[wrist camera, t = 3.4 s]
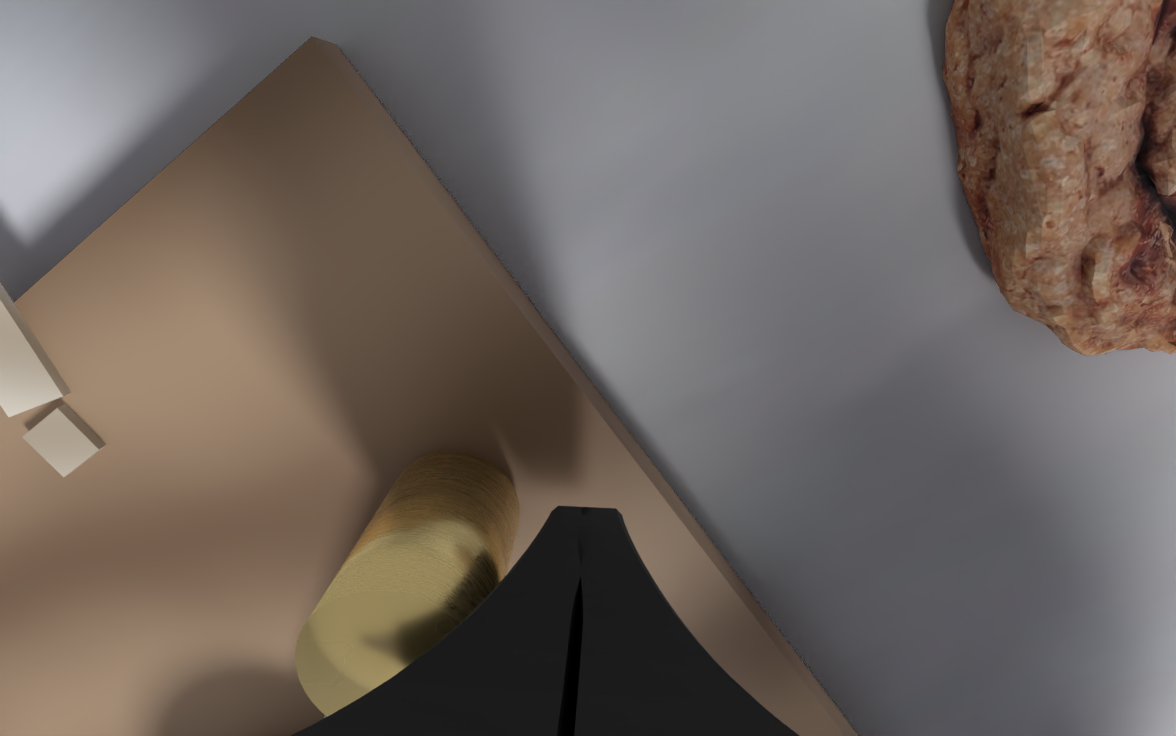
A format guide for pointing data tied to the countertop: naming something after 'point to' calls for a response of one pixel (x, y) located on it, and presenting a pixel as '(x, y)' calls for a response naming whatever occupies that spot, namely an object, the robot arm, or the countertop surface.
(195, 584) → the brown cutting board
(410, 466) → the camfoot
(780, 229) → the countertop surface
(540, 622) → the robot arm
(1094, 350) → the cookie
